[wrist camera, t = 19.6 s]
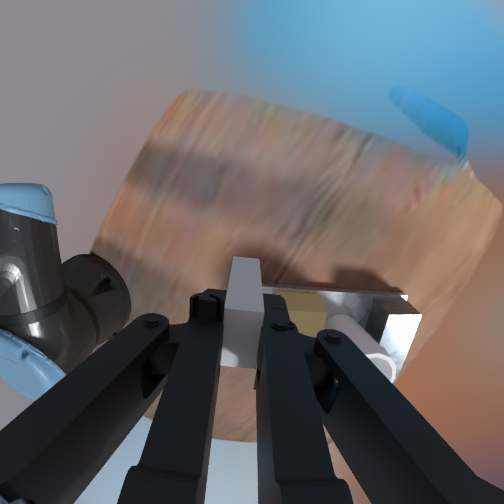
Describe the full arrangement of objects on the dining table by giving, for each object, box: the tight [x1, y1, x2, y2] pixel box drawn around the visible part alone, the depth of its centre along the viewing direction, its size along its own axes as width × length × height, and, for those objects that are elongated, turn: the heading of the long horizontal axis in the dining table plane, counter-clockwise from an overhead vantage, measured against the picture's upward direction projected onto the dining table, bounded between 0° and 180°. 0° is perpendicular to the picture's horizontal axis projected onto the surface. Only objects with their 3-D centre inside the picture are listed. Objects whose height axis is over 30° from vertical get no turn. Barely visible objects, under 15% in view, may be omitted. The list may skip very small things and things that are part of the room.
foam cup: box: [323, 314, 396, 383], centre depth 38 cm, size 10×9×13 cm
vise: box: [262, 282, 421, 382], centre depth 42 cm, size 26×14×8 cm, turn 84°
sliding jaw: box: [277, 291, 327, 338], centre depth 41 cm, size 6×13×6 cm, turn 174°
